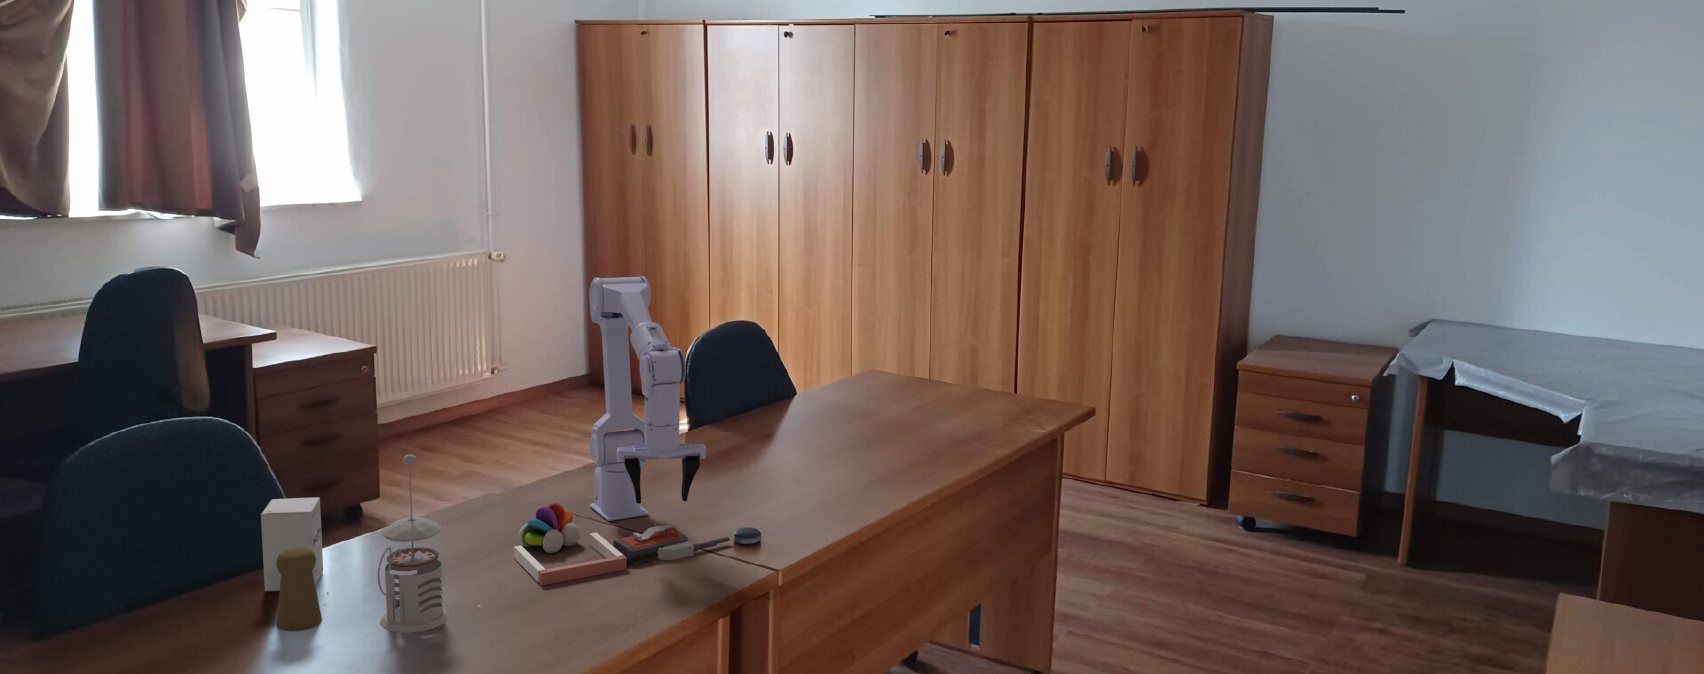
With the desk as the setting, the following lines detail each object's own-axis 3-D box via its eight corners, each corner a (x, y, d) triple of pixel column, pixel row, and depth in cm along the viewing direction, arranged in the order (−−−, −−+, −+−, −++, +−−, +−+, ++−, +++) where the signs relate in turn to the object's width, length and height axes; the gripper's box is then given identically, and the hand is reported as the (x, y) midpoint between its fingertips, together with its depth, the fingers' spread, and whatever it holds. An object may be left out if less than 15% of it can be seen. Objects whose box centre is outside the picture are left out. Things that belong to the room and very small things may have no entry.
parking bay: (514, 557, 207) (514, 546, 206) (596, 543, 215) (596, 532, 214) (541, 585, 196) (540, 573, 196) (626, 568, 204) (626, 557, 203)
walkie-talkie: (630, 573, 203) (732, 548, 216) (630, 547, 202) (733, 524, 215) (604, 556, 210) (705, 533, 222) (604, 531, 209) (705, 509, 221)
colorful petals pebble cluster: (587, 543, 215) (587, 503, 214) (546, 559, 207) (545, 517, 206) (552, 532, 219) (552, 493, 218) (510, 548, 211) (509, 507, 210)
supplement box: (315, 589, 191) (311, 511, 189) (263, 592, 190) (258, 513, 187) (325, 571, 198) (321, 496, 196) (275, 573, 197) (270, 497, 194)
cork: (293, 634, 176) (289, 561, 174) (267, 623, 179) (263, 551, 177) (331, 620, 181) (327, 548, 179) (305, 610, 184) (301, 539, 182)
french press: (463, 610, 186) (459, 449, 181) (414, 642, 175) (408, 471, 170) (408, 600, 188) (402, 441, 184) (356, 630, 178) (348, 463, 173)
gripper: (619, 430, 200) (619, 510, 202) (709, 427, 203) (708, 505, 206) (616, 418, 206) (616, 496, 209) (703, 415, 210) (702, 492, 213)
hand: (661, 500), depth 208 cm, fingers open, 7 cm apart
